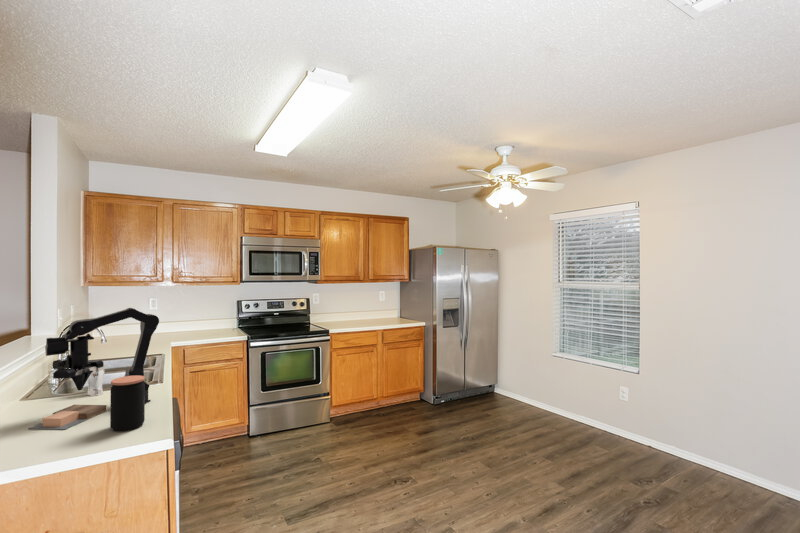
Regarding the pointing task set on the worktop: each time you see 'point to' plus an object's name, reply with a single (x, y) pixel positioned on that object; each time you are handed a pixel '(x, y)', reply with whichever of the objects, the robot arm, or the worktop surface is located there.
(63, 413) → the terracotta tile
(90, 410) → the walnut ledge
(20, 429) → the worktop surface
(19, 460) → the worktop surface
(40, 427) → the charcoal mat
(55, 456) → the worktop surface
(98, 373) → the beer glass
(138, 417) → the coffee jar
